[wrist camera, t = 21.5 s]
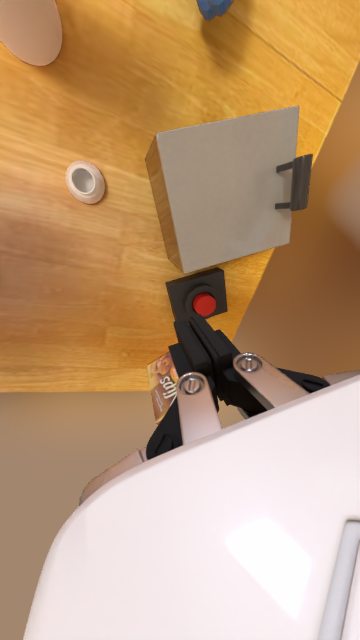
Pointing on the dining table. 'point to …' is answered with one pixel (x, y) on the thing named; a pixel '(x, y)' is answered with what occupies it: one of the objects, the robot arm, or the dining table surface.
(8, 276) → the dining table surface
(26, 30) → the cylindrical container
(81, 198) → the lidless jar
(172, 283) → the switch block
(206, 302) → the button
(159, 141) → the grey box lid
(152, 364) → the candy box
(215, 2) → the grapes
